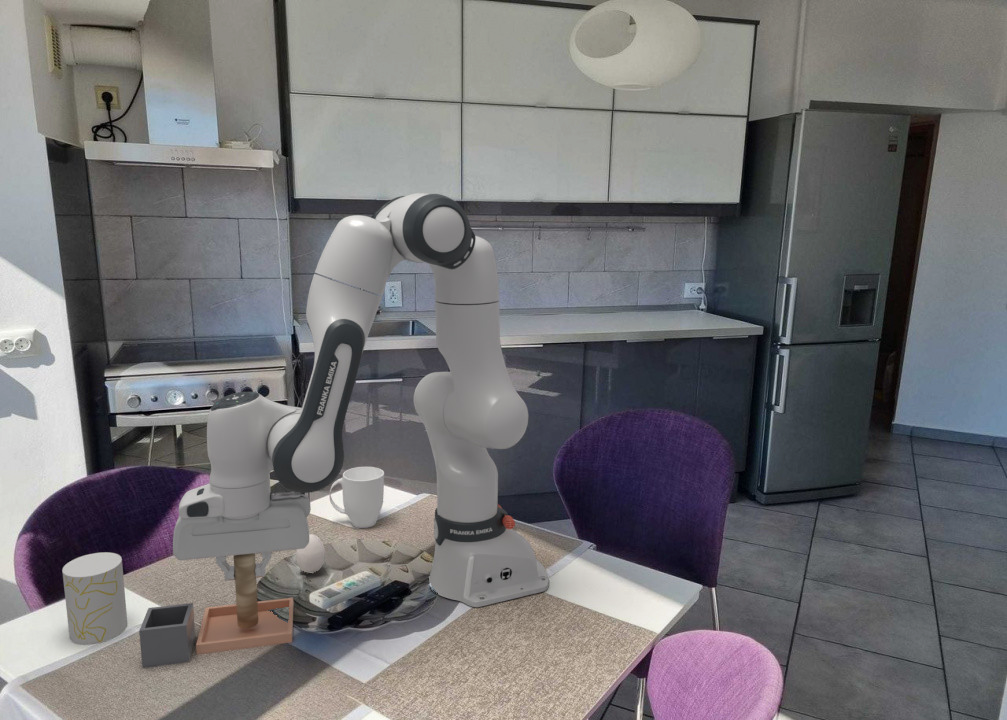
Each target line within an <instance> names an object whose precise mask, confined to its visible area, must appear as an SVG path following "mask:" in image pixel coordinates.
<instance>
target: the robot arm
mask: <svg viewBox="0 0 1007 720" xmlns="http://www.w3.org/2000/svg"><path fill="white" fill-rule="evenodd" d="M402 261H407V262H411V263H416V264H418V263H419V264H420V263H421V264H422V263H427V265H428V266H429V267H430V270H431V272H432V274H433V279H434V283H435V285H434V289H435V290H434V307H435V309H434V310H435V311H434V313H435V343H436V347H437V349H438V351H439V353H440V354H441V355H442V357H443V358H444V360H445V362H446V364H447V367H448V369H449V371H435V372H434V371H433V372H431V373H428V374H426V375H425V376H424V377H423V378H422V379H421V380H420V381H419V382H418V383H417V386H415V387H416V388H415V390H414V393H413V406H414V409H415V411H416V414H417V415H418V416H419V418H420V419H421V421H422V423H423V425H424V428H425V431H426V433H427V437H428V440H429V444H430V447H431V452H432V455H433V460H434V463H435V470H436V498H437V499H436V500H437V501H436V508H435V510H434V518H433V535H434V536H433V537H434V541H435V545H434V546H435V547H434V554H433V559H432V560H433V561H432V565H431V570H430V572H429V575H430V576H428V578H429V580H430V583H431V585H432V586H433V588H434V589H435V590H436V592H438V594H437V595H438V596H440V597H443V598H447V599H450V600H454V601H458V602H461V603H464V604H466V605H467V606H469V607H473V608H479V607H485V606H489V605H494V604H498V603H501V602H507V601H510V600H513V599H517V598H518V599H519V598H522V597H526V596H531V595H535V594H539V593H542V592H543V593H544V592H546V591H547V590H548V588H549V586H550V579H549V574H548V572H547V570H546V567H544V565H543V564H542V563H541V562H540V561H539V560H538V559H537V557H536V554H535V550H534V548H533V546H532V544H531V543H530V542H529V541H528V540H527V538H526V537H524V535H522V534H520V533H518V531H515V530H514V529H515V528H514V527H515V526H516V521H515V520H514V518H513V516H511V515H508V512H507V510H505V509H504V508H502V506H501V505H500V504H498V497H499V496H498V492H499V491H498V490H499V473H498V468H497V465H496V464H495V461H494V460H493V459H492V457H491V456H490V454H489V452H488V450H487V449H494V450H495V449H498V450H506V449H507V450H508V449H509V448H512V447H513V446H516V444H517V443H518V442H519V441H520V440H521V439H522V437H524V435H525V433H526V431H527V427H528V423H529V409H528V407H527V404H526V402H525V401H524V399H523V398H522V397H521V396H520V394H518V392H517V390H516V389H515V387H514V384H513V383H512V380H511V378H510V374H509V372H508V369H507V366H506V362H505V359H504V355H503V351H502V345H501V333H500V330H501V328H500V327H501V326H500V289H499V288H500V287H499V275H498V267H497V261H496V257H495V252H494V248H493V246H492V245H491V243H490V242H489V241H487V240H486V239H484V238H483V237H480V236H478V235H475V233H474V230H473V229H472V227H471V223H470V221H469V218H468V215H467V213H466V211H465V210H464V209H463V207H462V206H461V205H460V203H458V202H457V201H455V200H454V199H452V198H450V197H449V196H446V195H443V194H441V193H440V194H438V193H426V192H417V193H416V192H414V193H411V194H408V195H401V196H397V197H394V198H392V199H391V200H389V201H387V202H386V203H385V204H384V205H383V206H381V207H380V209H378V210H377V211H376V212H374V213H373V215H371V216H367V215H361V214H360V215H359V214H356V215H348V216H345V217H343V218H342V219H341V220H339V222H338V223H337V224H336V226H335V228H334V229H333V231H332V232H331V235H330V236H329V238H328V240H327V242H326V244H325V246H324V248H323V250H322V252H321V255H320V257H319V260H318V263H317V265H316V268H315V270H314V274H313V276H312V280H311V284H310V287H309V291H308V293H307V294H308V296H307V301H306V310H305V317H306V320H307V321H306V322H307V325H308V328H309V330H310V334H311V337H312V341H313V349H314V359H313V361H314V362H313V368H312V372H311V375H310V379H309V382H308V386H307V390H306V393H305V395H304V396H305V397H304V399H303V402H302V406H301V407H300V406H292V405H287V404H282V403H279V402H276V401H273V400H270V399H269V398H266V397H264V396H263V395H262V394H260V393H259V392H256V391H239V392H236V393H231V394H228V395H226V396H223V397H221V398H220V399H217V400H216V401H215V402H214V403H213V404H212V405H211V407H210V409H209V411H208V416H207V422H206V423H207V424H206V441H207V442H206V446H207V447H206V448H207V457H208V459H209V462H210V465H211V466H210V467H211V468H210V473H209V483H207V484H204V485H201V486H198V487H195V488H192V489H190V490H188V491H186V492H185V493H184V495H183V496H182V498H181V499H180V501H179V505H178V514H179V516H178V517H177V520H176V523H175V525H174V528H173V529H174V530H173V537H172V555H173V557H174V558H176V559H177V560H178V561H189V560H198V559H200V560H201V559H209V558H215V563H216V564H217V566H218V567H219V568H220V569H221V571H222V572H223V574H224V581H225V582H227V581H235V571H234V565H230V564H229V562H228V561H227V560H226V559H227V557H231V556H234V555H243V554H253V553H255V554H261V557H262V561H261V562H257V563H256V562H255V564H256V567H255V573H256V574H255V577H256V579H258V578H265V577H266V567H267V565H268V563H269V562H270V561H271V558H272V552H281V551H291V550H297V549H303V548H305V547H306V546H307V545H308V543H309V534H310V528H309V520H308V516H309V515H310V513H311V510H312V509H311V499H310V498H309V496H308V495H306V494H308V493H315V492H318V491H321V490H323V489H324V488H326V487H328V486H330V484H331V485H332V484H333V483H334V482H335V481H336V479H337V477H338V476H339V475H340V473H341V471H342V468H343V466H344V462H345V461H344V460H345V459H344V458H345V452H344V445H343V444H344V443H343V428H344V423H345V419H346V415H347V412H348V409H349V404H350V400H351V398H352V397H351V396H352V393H353V389H354V386H355V383H356V379H357V375H358V371H359V369H360V363H361V360H362V355H363V352H364V349H365V346H366V344H367V341H368V337H369V334H370V331H371V328H372V326H373V324H374V321H375V318H376V315H377V312H378V309H379V307H380V304H381V301H382V298H383V297H382V296H383V295H384V292H385V289H386V286H387V282H388V278H389V277H390V275H391V274H392V272H393V269H395V267H396V266H397V265H398V264H399V263H401V262H402ZM272 471H273V472H274V475H275V478H276V479H277V480H278V482H279V483H280V485H282V486H283V487H284V488H286V489H287V490H289V491H291V492H273V493H272V492H271V477H270V473H271V472H272Z"/></svg>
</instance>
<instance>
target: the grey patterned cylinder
mask: <svg viewBox="0 0 1007 720" xmlns="http://www.w3.org/2000/svg"><path fill="white" fill-rule="evenodd" d="M61 571H62V580H63V588H64V589H63V590H64V597H65V598H64V599H65V608H66V618H67V625H68V627H67V629H68V634H69V637H68V638H69V639H70V641H71V642H72V643H73V644H76V645H82V646H87V645H89V646H90V645H96V644H101V643H104V642H107V641H110V640H112V639H114V638H116V637H118V636H119V635H121V634H122V633H123V632H125V631H126V629H127V627H128V624H129V623H128V615H127V613H128V612H127V603H126V593H125V582H124V581H125V580H124V570H123V559H122V556H121V555H120V554H118V553H115V552H108V551H107V552H106V551H105V552H95V553H94V552H93V553H89V554H85V555H82V556H78V557H76V558H74V559H72V560H71V561H69V562H67V563H66V564H65V565H63V567H62V570H61Z"/></svg>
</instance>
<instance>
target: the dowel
mask: <svg viewBox="0 0 1007 720" xmlns="http://www.w3.org/2000/svg"><path fill="white" fill-rule="evenodd" d="M233 566H234V571H235V580H234V586H235V587H234V588H235V589H234V590H235V604H236V606H237V623H238V626H239V627H240V628H250V627H253V626H255V625H256V624H257V623H258V602H259V601H258V585H257V584H258V583H257V578H256V577H255V574H256V573H255V567H256V553H253V554H243V555H233Z"/></svg>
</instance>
